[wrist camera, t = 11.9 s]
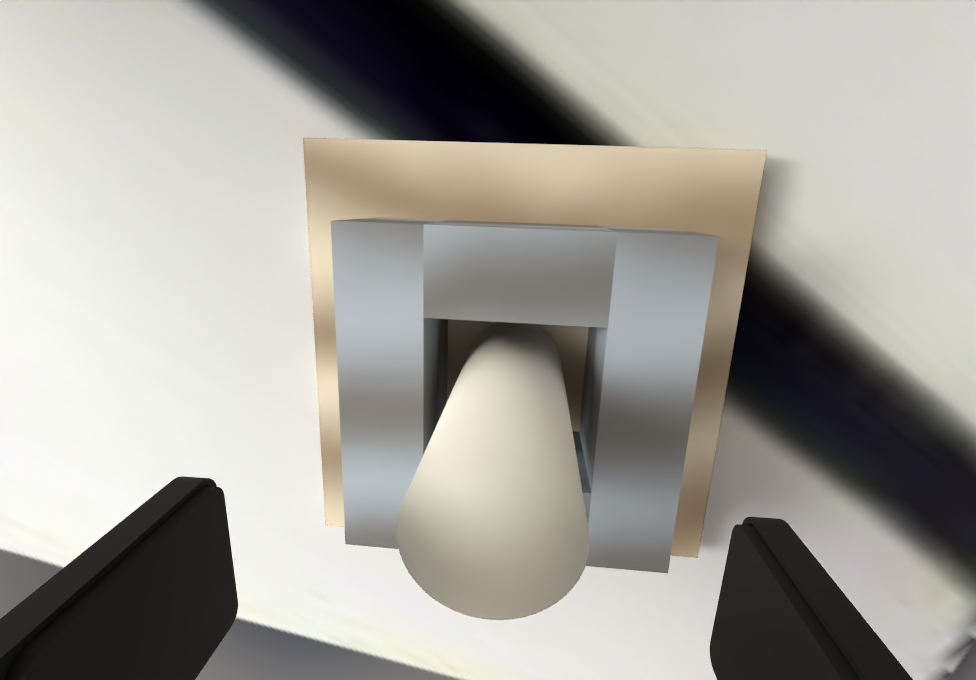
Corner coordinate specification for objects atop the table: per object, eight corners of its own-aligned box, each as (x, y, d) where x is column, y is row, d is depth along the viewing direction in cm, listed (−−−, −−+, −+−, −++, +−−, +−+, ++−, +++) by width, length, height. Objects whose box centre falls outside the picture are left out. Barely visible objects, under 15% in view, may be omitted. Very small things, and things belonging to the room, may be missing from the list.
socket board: (318, 142, 22) (231, 116, 15) (750, 154, 20) (846, 131, 14) (336, 507, 26) (275, 601, 20) (688, 537, 25) (739, 647, 19)
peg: (470, 316, 22) (395, 444, 10) (563, 321, 21) (598, 460, 10) (467, 403, 23) (397, 610, 11) (557, 409, 22) (581, 628, 11)
